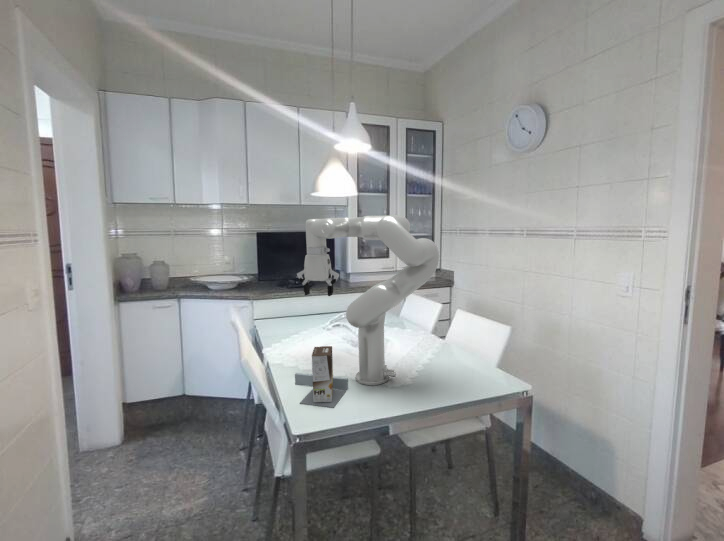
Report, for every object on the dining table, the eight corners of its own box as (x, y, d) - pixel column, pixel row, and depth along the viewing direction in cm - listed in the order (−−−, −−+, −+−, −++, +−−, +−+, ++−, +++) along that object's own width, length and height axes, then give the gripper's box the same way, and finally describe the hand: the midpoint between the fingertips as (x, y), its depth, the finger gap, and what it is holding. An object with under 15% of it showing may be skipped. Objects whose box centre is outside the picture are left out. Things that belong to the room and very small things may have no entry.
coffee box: (332, 402, 126) (331, 355, 124) (313, 403, 126) (311, 356, 124) (333, 389, 136) (332, 345, 133) (315, 390, 135) (313, 346, 133)
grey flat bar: (348, 388, 137) (347, 378, 136) (346, 390, 136) (346, 379, 135) (296, 383, 143) (296, 372, 142) (295, 384, 141) (294, 374, 141)
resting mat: (346, 391, 135) (346, 390, 135) (333, 408, 123) (333, 406, 123) (314, 387, 138) (314, 386, 138) (299, 403, 127) (299, 402, 127)
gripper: (341, 250, 149) (342, 293, 152) (300, 250, 154) (302, 292, 157) (334, 252, 142) (336, 297, 145) (291, 252, 147) (294, 296, 150)
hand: (318, 295), depth 151 cm, fingers open, 9 cm apart
